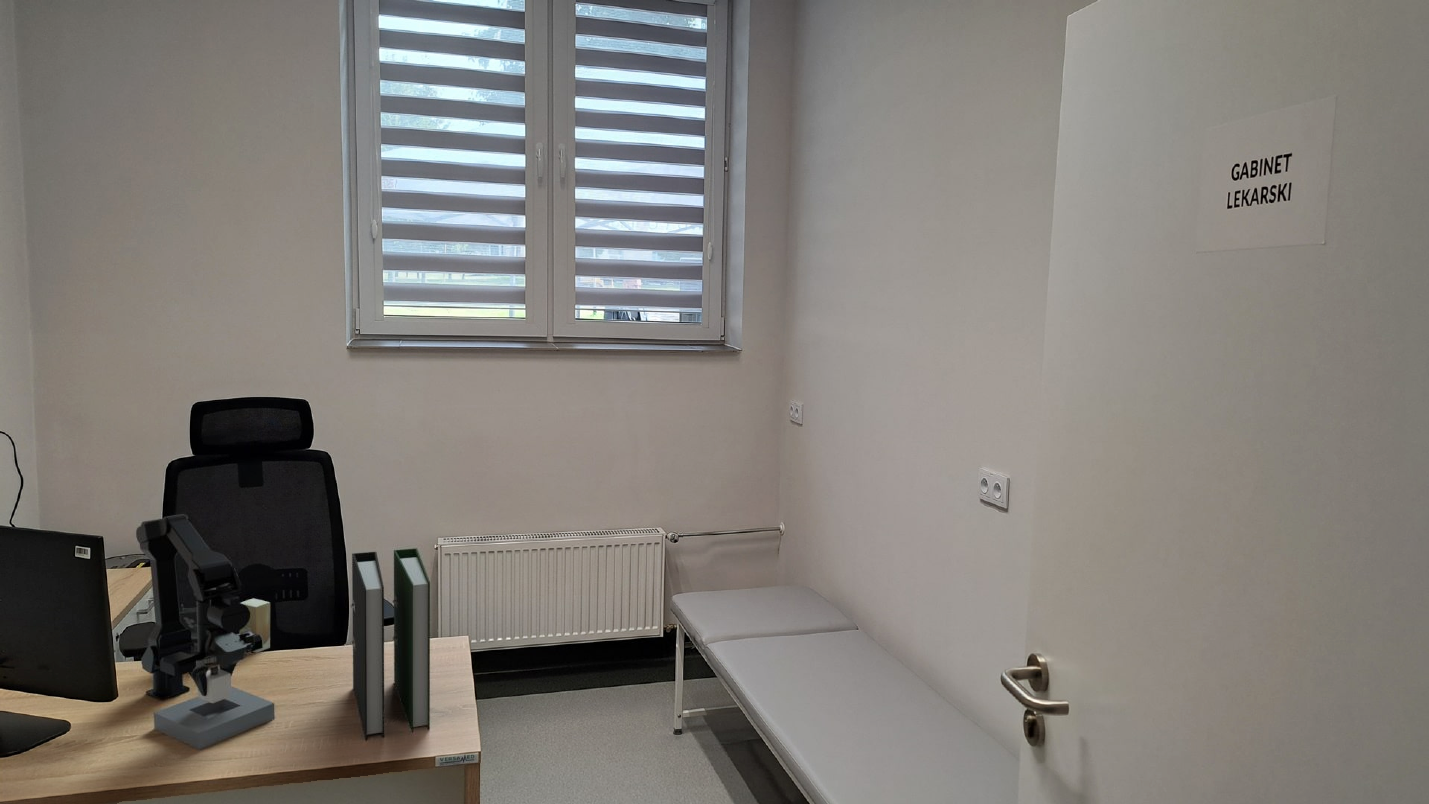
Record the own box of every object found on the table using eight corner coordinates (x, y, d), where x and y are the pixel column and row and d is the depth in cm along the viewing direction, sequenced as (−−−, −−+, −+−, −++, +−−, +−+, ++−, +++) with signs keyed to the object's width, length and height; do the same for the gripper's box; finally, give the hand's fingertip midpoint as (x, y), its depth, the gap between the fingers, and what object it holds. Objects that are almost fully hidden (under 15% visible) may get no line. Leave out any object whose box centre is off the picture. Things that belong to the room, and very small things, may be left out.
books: (433, 729, 185) (433, 581, 182) (357, 741, 179) (356, 589, 176) (417, 679, 210) (417, 548, 206) (349, 688, 203) (348, 553, 200)
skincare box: (238, 649, 224) (237, 602, 223) (253, 643, 228) (252, 597, 227) (257, 653, 221) (256, 606, 220) (271, 647, 225) (270, 601, 224)
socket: (154, 728, 181) (153, 712, 181) (229, 700, 195) (229, 685, 195) (199, 749, 174) (199, 732, 173) (274, 718, 187) (274, 703, 187)
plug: (198, 697, 183) (197, 667, 183) (217, 690, 187) (216, 661, 186) (212, 703, 181) (211, 673, 180) (231, 696, 184) (230, 666, 184)
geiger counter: (229, 656, 219) (227, 597, 218) (227, 662, 215) (225, 603, 214) (180, 661, 215) (178, 601, 214) (177, 668, 211) (175, 607, 210)
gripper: (189, 642, 170) (191, 719, 172) (278, 614, 186) (279, 685, 188) (157, 630, 176) (159, 704, 177) (246, 604, 192) (248, 673, 193)
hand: (214, 692), depth 184 cm, fingers closed on plug, 4 cm apart
